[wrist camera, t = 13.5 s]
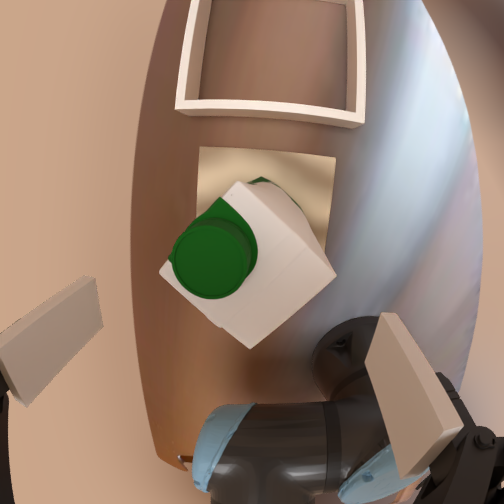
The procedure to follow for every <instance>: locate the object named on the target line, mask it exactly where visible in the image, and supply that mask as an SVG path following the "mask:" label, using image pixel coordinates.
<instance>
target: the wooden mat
mask: <svg viewBox="0 0 504 504" xmlns="http://www.w3.org/2000/svg"><path fill="white" fill-rule="evenodd" d="M335 163H336V158H333V157H326V156H318V155H310V154H302V153H293V152H283V151H272V150H260V149H246V148H226V147H200V151H199V167H198V186H197V211H196V218H197V217H198V216H200V215H201V214H202V213H204V212H205V211H206V210H207V209H208V208H209V207H210V206H211V205H212V204H213V203H214V202H215V201H216V200H217V199H218V198H219V197H220V196H222V195H223V194H224V193H225V192H226V191H227V190H228V189H229V188H230V187H231V186H232V185H233V184H234V183H235V182H236V181H241V182H244V183H247V182H250V181H252V180H254V179H256V178H259V177H261V176H262V177H264V178H266V179H268V180H270V181H272V182H274V183H275V184H277V185H278V186H279V187H280V188H281V189H283V190H284V191H285V192H286V193H287V194H288V195H289V196H290V197H291V198H292V199H293V200H294V201H295V202H296V203H297V204H298V205H299V206H300V207H301V209H302V211H303V213H304V215H305V217H306V219H307V221H308V223H309V225H310V228H311V230H312V232H313V234H314V235H315V237H316V239H317V241H318V243H319V244H320V246H321V248H322V250H323V252H324V251H325V244H326V237H327V230H328V223H329V216H330V208H331V200H332V191H333V183H334V173H335Z"/></svg>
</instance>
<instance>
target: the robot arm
mask: <svg viewBox="0 0 504 504" xmlns="http://www.w3.org/2000/svg"><path fill="white" fill-rule="evenodd" d="M102 327H103V321H102V316H101V311H100V305H99V299H98V293H97V286H96V279H95V278H93V277H88V276H83V277H81V278H80V279H78V280H76V281H75V282H73V283H72V284H70V285H69V286H67V287H66V288H64V289H63V290H61V291H60V292H58V293H57V294H55V295H54V296H52V297H51V298H49V299H48V300H46V301H45V302H43V303H42V304H41V305H39V306H38V307H36V308H35V309H34V310H32V311H31V312H29V313H28V314H26V315H25V316H24V317H22V318H21V319H19V320H18V321H16V322H15V323H14V324H12V326H10V327H8V328H7V329H6V330H4V331H3V332H2V333H0V504H15V502H14V498H13V497H14V496H13V490H12V484H11V475H10V465H9V451H8V408H9V398H8V395H7V393H6V392H7V391H8V390H9V389H10V391H11V393H12V394H13V396H14V398H15V400H16V401H18V402H19V403H21V404H22V405H24V406H25V407H28V406H29V405H30V403H32V401H33V400H34V399H35V398H36V397H37V396H38V395H39V394H40V392H41V391H42V390H43V389H44V388H45V387H46V386H47V385H48V384H49V382H50V381H51V380H52V379H53V378H54V377H55V376H56V375H57V374H58V373H59V372H60V371H61V370H62V368H63V367H64V366H65V365H66V364H67V363H68V362H69V361H70V360H71V359H72V358H73V357H74V356H75V355H76V354H77V353H78V352H79V351H80V349H82V347H84V346H85V344H86V343H87V342H88V341H89V340H90V339H91V338H92V337H93V336H94V335H95V334H96V333H97V332H98V331H99V330H100V329H101V328H102ZM312 371H313V377H314V380H315V383H316V385H317V386H318V388H319V389H320V391H321V392H322V394H323V395H324V397H325V398H326V400H327V401H323V402H307V403H286V404H257V403H253V402H252V403H250V404H227V405H222V406H219V407H218V408H216V409H215V410H214V411H213V412H212V413H211V414H210V415H209V416H208V418H207V419H206V421H205V423H204V425H203V427H202V429H201V431H200V434H199V437H198V440H197V443H196V447H195V451H194V456H193V463H192V477H193V479H194V485H195V486H196V488H197V489H199V490H202V491H203V492H206V493H207V492H210V493H211V504H315V495H316V494H322V493H332V492H338V497H339V498H340V499H341V501H342V502H343V503H345V504H354V503H355V504H362V503H367V502H372V501H375V500H378V499H381V498H384V497H386V496H389V495H391V494H393V493H395V492H398V491H400V490H401V489H403V488H405V487H407V486H408V485H410V484H412V483H413V482H415V481H416V480H418V479H419V478H420V477H421V476H423V475H424V474H425V473H426V472H427V471H428V470H429V469H430V472H431V474H430V475H429V476H428V477H427V478H425V479H424V480H423V481H422V482H421V483H420V484H419V485H418V486H417V487H416V490H418V489H419V488H420V487H422V488H421V490H420V492H419V494H418V496H417V498H416V499H415V501H414V503H413V504H504V487H503V488H501V482H502V481H504V437H496V436H495V434H494V433H493V432H492V431H491V430H490V429H488V428H487V427H482V426H476V425H475V423H474V421H473V419H472V417H471V416H470V414H469V412H468V410H467V409H466V407H465V405H464V403H463V402H462V400H461V399H460V397H459V395H458V393H457V392H455V388H454V387H453V385H452V383H451V382H450V380H449V379H448V378H446V377H445V376H444V375H443V374H442V373H441V372H438V373H435V372H434V371H433V369H432V367H431V366H430V364H429V363H428V361H427V359H426V358H425V356H424V355H423V353H422V351H421V350H420V348H419V347H418V345H417V344H416V342H415V341H414V339H413V337H412V336H411V334H410V333H409V331H408V330H407V328H406V327H405V325H404V324H403V322H402V321H401V320H400V318H399V317H398V315H397V314H396V313H384V312H381V314H380V317H361V318H356V319H352V320H349V321H347V322H344V323H342V324H340V325H338V326H337V327H335V328H334V329H332V330H331V331H330V332H328V333H327V334H326V335H325V336H324V337H323V338H322V339H321V341H320V342H319V343H318V345H317V347H316V348H315V351H314V353H313V357H312Z"/></svg>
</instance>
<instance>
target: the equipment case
mask: <svg viewBox="0 0 504 504" xmlns="http://www.w3.org/2000/svg"><path fill="white" fill-rule="evenodd" d="M319 1H326V2H332V3H337V4H343V5H346V15H347V97H346V111H343V110H337V109H331V108H325V107H318V106H310V105H302V104H293V103H282V102H270V101H253V100H198V98H199V89H200V80H201V71H202V63H203V55H204V48H205V41H206V34H207V28H208V21H209V15H210V10H211V4H212V0H192V1H191V5H190V10H189V15H188V20H187V26H186V31H185V37H184V43H183V49H182V55H181V62H180V69H179V77H178V85H177V94H176V103H175V110H177V111H179V112H181V113H183V114H186V115H188V116H236V117H257V118H271V119H283V120H293V121H302V122H310V123H318V124H325V125H332V126H338V127H344V128H350V129H354V128H356V127H358V126H360V125H362V124H364V122H365V99H366V46H365V24H364V10H363V0H319Z"/></svg>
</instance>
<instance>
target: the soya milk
mask: <svg viewBox="0 0 504 504" xmlns="http://www.w3.org/2000/svg"><path fill="white" fill-rule="evenodd" d="M159 274H160V275H161V276H162V277H163V278H164V279H165V280H167V281H168V282H169V283H170V284H171V285H172V286H173V287H174V288H175V289H176V290H177V291H178V292H180V293H181V294H182V295H183V296H184V297H185V298H186V299H187V300H188V301H190V302H191V303H192V304H193V305H194V306H195V307H196V308H198V309H199V310H200V311H201V312H202V313H203V314H205V315H206V317H207V318H208V319H209V320H210V321H211V322H213V323H214V324H215V325H216V326H218V327H219V328H221V327H222V328H224V329H225V330H226V331H227V332H228V333H230V334H231V335H232V336H233V337H235V338H236V339H237V340H238V341H240V342H241V343H242V344H244V345H245V346H246V347H247V348H249V349H251V348H252V347H254V346H255V345H256V344H258V343H259V342H260V341H261V340H263V339H264V338H265V337H266V336H268V335H269V334H270V333H271V332H273V331H274V330H275V329H276V328H277V327H279V326H280V325H281V324H282V323H284V322H285V321H286V320H287V319H288V318H290V317H291V316H292V315H293V314H294V313H295V312H297V311H298V310H299V309H300V308H301V307H302V306H304V305H305V304H306V303H307V302H308V301H309V300H311V299H312V298H313V297H314V296H315V295H316V294H317V293H319V292H320V291H321V290H322V289H323V288H324V287H325V286H326V285H328V284H329V283H330V282H331V281H332V280H333V279H334V278H335V277H336V276H337V275H336V273H335V272H334V270H333V268H332V266H331V265H330V263H329V261H328V259H327V257H326V255H325V253H324V252H323V250H322V248H321V246H320V244H319V243H318V241H317V239H316V237H315V235H314V234H313V232H312V230H311V228H310V225H309V223H308V221H307V219H306V217H305V215H304V213H303V211H302V209H301V207H300V206H299V205H298V204H297V203H296V202H295V201H294V200H293V199H292V198H291V197H290V196H289V195H288V194H287V193H286V192H285V191H284V190H283V189H281V188H280V187H279V186H278V185H277V184H275V183H274V182H272V181H270V180H268V179H266V178H264V177H262V176H261V177H259V178H256V179H254V180H252V181H250V182H247V183H244V182H241V181H236V182H235V183H234V184H233V185H232V186H231V187H230V188H229V189H228V190H227V191H226V192H225V193H224V194H223V195H222V196H220V197H219V198H218V199H217V200H216V201H215V202H214V203H213V204H212V205H211V206H210V207H209V208H208V209H207V210H206V211H205V212H204V213H202V214H201V215H200V216H198V217H197V218H196V219H195V220H194V221H193V222H192V223H191V224H190V225H189V226H188V228H187V229H186V230H185V232H183V233H182V235H181V236H179V237H178V239H177V241H176V243H175V244H174V246H173V250H172V253H171V254H170V255H169V257H168V260H167V261H166V263H165V264H164V265H163V266H162V268H161V269H160V270H159Z"/></svg>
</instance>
